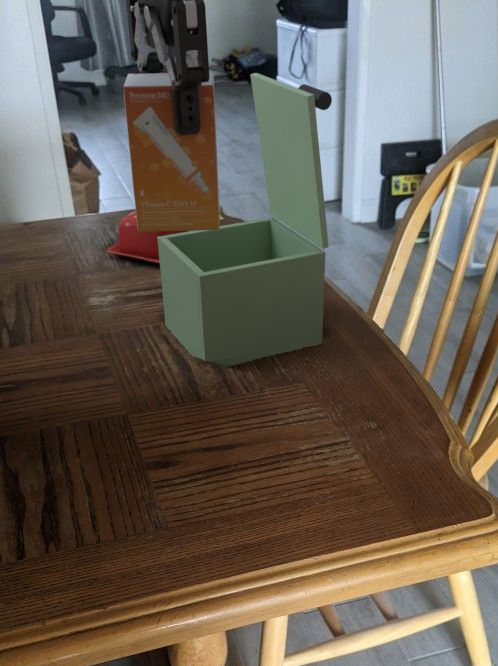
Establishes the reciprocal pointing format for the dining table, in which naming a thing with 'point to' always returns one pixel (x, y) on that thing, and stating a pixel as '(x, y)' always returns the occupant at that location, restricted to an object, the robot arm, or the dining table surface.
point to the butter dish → (138, 240)
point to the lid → (292, 154)
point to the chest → (242, 290)
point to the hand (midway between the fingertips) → (172, 123)
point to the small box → (171, 158)
